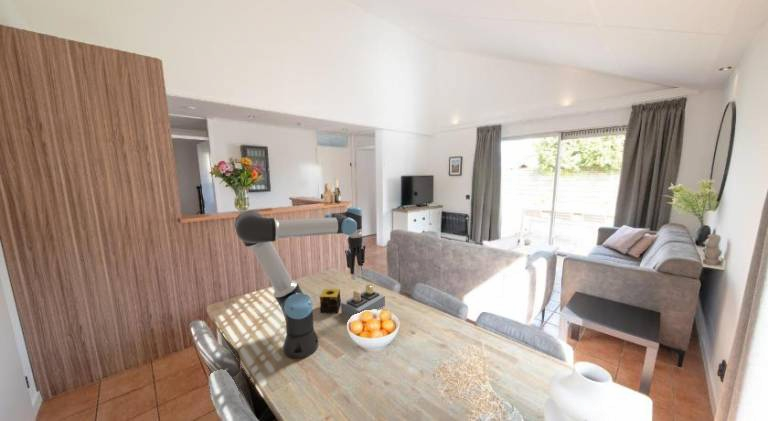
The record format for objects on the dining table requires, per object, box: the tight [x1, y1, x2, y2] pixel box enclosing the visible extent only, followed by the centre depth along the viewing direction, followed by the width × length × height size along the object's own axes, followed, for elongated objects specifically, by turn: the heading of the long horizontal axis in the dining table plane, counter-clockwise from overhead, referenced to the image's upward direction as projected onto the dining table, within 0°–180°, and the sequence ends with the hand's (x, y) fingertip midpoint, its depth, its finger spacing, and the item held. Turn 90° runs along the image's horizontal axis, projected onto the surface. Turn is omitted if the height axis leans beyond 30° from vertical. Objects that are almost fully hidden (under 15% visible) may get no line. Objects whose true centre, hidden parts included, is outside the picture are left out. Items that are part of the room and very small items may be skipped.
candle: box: [319, 288, 342, 314], centre depth 156 cm, size 10×10×10 cm
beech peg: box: [352, 290, 362, 304], centre depth 151 cm, size 4×4×7 cm
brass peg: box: [365, 284, 374, 297], centre depth 158 cm, size 4×4×7 cm
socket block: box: [340, 289, 386, 318], centre depth 155 cm, size 21×14×7 cm, turn 140°
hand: (356, 277), depth 149 cm, fingers open, 3 cm apart
